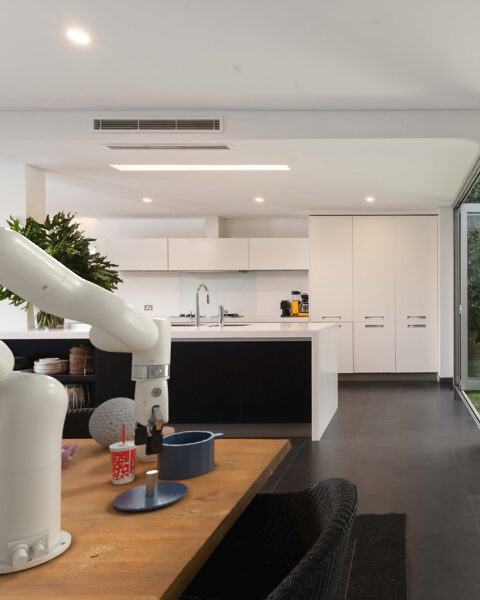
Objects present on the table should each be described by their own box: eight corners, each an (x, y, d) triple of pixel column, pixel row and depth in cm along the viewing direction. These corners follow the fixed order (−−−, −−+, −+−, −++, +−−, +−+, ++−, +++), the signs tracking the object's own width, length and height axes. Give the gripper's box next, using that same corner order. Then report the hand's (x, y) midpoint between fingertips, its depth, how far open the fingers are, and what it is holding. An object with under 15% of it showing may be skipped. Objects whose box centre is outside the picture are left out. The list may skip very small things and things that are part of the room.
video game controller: (58, 478, 118) (73, 452, 119) (39, 472, 116) (54, 446, 117) (70, 465, 127) (84, 442, 128) (53, 460, 125) (67, 436, 127)
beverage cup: (129, 474, 116) (129, 420, 116) (142, 478, 113) (143, 423, 113) (103, 482, 111) (104, 425, 111) (116, 487, 108) (117, 429, 108)
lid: (196, 499, 101) (196, 472, 101) (121, 520, 91) (121, 490, 91) (176, 481, 112) (176, 456, 112) (107, 498, 102) (107, 471, 102)
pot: (232, 467, 121) (232, 436, 121) (154, 487, 108) (154, 451, 108) (213, 455, 131) (213, 426, 131) (139, 471, 118) (140, 439, 118)
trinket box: (182, 453, 133) (182, 421, 133) (158, 465, 122) (159, 431, 123) (148, 451, 134) (148, 420, 134) (122, 464, 124) (122, 430, 124)
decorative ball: (139, 436, 150) (139, 391, 150) (151, 446, 139) (151, 398, 139) (85, 446, 140) (85, 397, 140) (92, 457, 129) (93, 405, 129)
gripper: (181, 375, 98) (178, 454, 97) (158, 368, 110) (155, 438, 109) (142, 377, 92) (138, 461, 92) (123, 370, 105) (119, 444, 104)
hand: (147, 449), depth 100 cm, fingers open, 9 cm apart
